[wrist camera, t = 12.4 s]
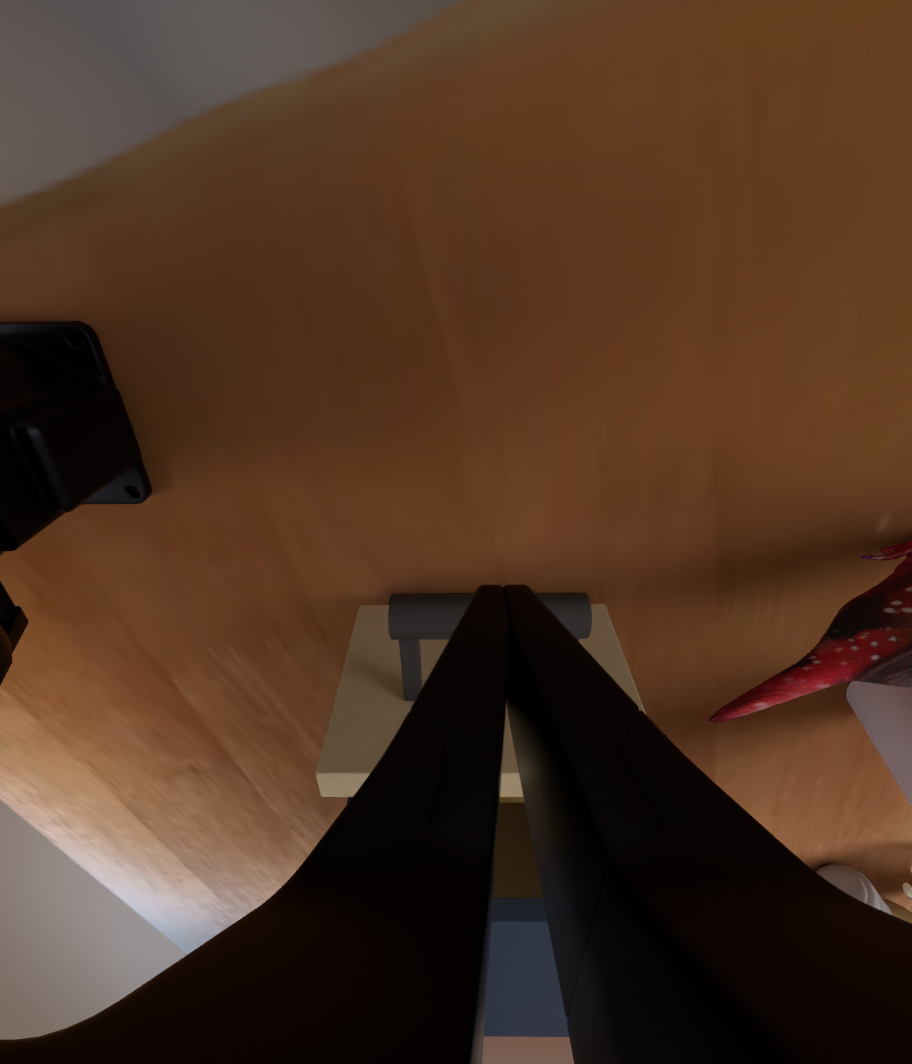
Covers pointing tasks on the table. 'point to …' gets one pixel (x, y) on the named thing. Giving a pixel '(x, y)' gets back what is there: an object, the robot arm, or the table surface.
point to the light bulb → (861, 889)
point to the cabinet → (522, 973)
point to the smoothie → (887, 726)
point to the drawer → (396, 680)
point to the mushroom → (908, 886)
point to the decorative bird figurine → (849, 646)
